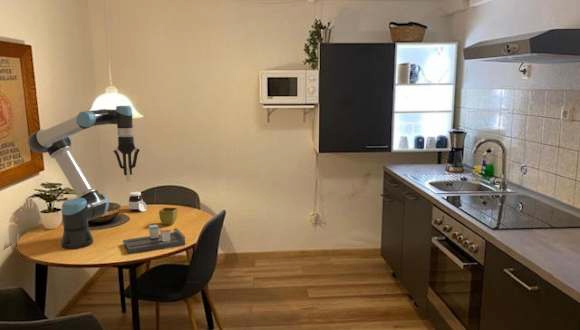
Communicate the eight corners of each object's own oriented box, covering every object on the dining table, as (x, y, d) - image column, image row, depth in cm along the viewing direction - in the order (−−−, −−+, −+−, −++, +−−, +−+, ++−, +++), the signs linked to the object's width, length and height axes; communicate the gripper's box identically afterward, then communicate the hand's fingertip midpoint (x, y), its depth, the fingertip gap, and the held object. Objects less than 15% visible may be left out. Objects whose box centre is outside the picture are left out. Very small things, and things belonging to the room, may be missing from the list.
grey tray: (129, 254, 227) (128, 245, 227) (123, 244, 241) (122, 236, 241) (185, 244, 241) (184, 236, 240) (176, 236, 255) (176, 228, 254)
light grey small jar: (151, 238, 242) (150, 227, 241) (149, 236, 245) (148, 225, 244) (159, 237, 244) (158, 226, 243) (157, 235, 247) (156, 224, 246)
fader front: (162, 242, 237) (161, 230, 236) (160, 239, 240) (160, 228, 239) (170, 240, 239) (170, 229, 238) (168, 238, 242) (168, 227, 241)
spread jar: (133, 208, 313) (132, 191, 311) (149, 208, 313) (148, 191, 311) (126, 212, 301) (125, 195, 299) (144, 212, 301) (143, 195, 299)
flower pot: (178, 222, 281) (178, 207, 279) (173, 226, 272) (172, 211, 271) (164, 221, 282) (163, 207, 280) (159, 225, 273) (158, 211, 272)
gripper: (113, 137, 231) (116, 183, 235) (140, 136, 237) (142, 181, 241) (111, 136, 238) (114, 181, 242) (137, 134, 244) (139, 178, 248)
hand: (128, 181), depth 242 cm, fingers closed
